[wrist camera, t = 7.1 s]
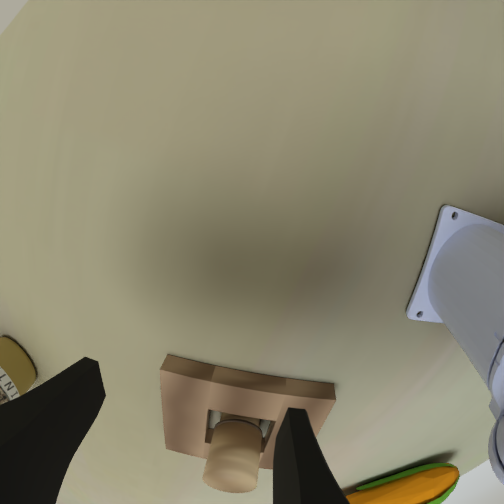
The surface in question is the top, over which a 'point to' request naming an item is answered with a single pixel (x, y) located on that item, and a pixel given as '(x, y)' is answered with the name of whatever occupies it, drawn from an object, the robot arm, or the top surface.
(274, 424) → the board
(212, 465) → the peg
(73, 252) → the top surface
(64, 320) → the top surface
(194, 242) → the top surface
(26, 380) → the paper tube
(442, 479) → the corn
